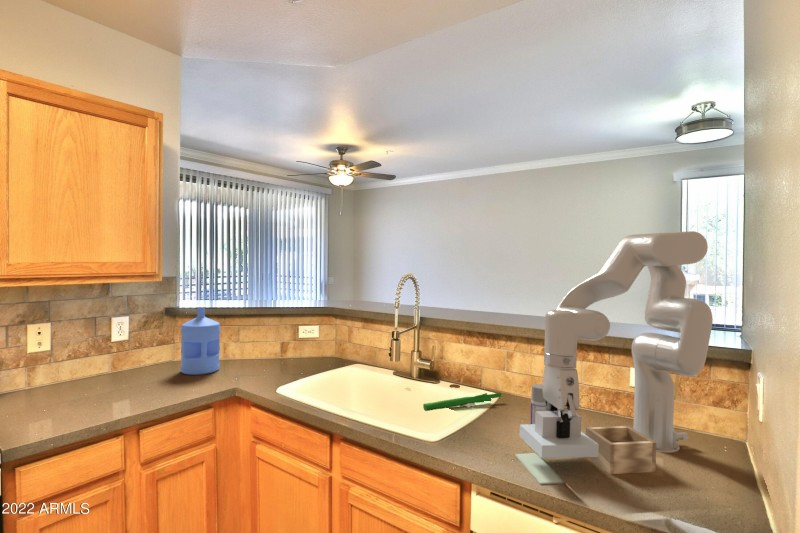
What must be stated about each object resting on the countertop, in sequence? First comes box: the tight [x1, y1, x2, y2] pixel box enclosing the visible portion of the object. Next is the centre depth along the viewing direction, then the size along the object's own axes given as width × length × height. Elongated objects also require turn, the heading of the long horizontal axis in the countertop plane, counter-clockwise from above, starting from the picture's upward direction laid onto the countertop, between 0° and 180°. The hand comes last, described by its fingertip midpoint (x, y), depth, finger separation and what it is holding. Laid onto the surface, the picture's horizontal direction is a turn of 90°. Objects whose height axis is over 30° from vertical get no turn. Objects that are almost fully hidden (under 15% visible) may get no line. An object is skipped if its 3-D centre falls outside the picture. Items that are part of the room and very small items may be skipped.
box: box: [585, 425, 657, 475], centre depth 103 cm, size 12×10×8 cm
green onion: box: [422, 392, 502, 412], centre depth 144 cm, size 5×3×30 cm
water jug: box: [180, 307, 221, 376], centre depth 182 cm, size 16×16×28 cm
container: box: [530, 383, 547, 424], centre depth 119 cm, size 5×5×15 cm
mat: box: [514, 452, 567, 485], centre depth 102 cm, size 16×14×1 cm
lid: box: [519, 411, 599, 459], centre depth 102 cm, size 14×12×8 cm
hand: (558, 432), depth 102 cm, fingers closed on lid, 4 cm apart
